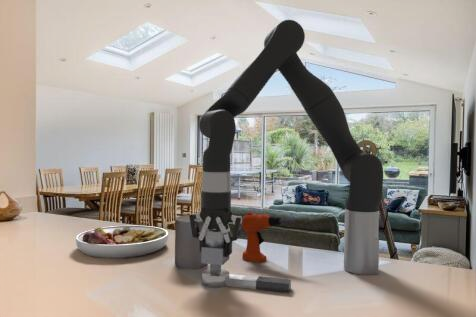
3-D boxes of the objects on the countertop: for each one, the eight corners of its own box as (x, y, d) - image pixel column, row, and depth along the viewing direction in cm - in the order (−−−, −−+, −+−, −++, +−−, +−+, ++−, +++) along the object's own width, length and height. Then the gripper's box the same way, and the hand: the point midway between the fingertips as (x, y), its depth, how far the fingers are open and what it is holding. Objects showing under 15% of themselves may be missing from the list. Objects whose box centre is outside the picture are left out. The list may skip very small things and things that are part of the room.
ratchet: (291, 285, 98) (292, 262, 98) (287, 295, 91) (287, 270, 91) (207, 276, 104) (207, 254, 104) (197, 285, 97) (197, 261, 97)
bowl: (120, 235, 153) (120, 215, 153) (185, 244, 140) (185, 222, 140) (55, 253, 126) (55, 229, 126) (127, 266, 113) (127, 239, 113)
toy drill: (297, 264, 111) (291, 211, 112) (239, 262, 120) (234, 213, 121) (303, 260, 115) (297, 209, 116) (247, 258, 125) (242, 211, 125)
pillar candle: (174, 259, 119) (174, 211, 119) (205, 258, 121) (206, 210, 121) (175, 270, 110) (175, 217, 109) (210, 268, 112) (210, 216, 111)
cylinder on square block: (229, 258, 102) (229, 228, 101) (222, 265, 96) (223, 232, 96) (209, 257, 103) (209, 226, 103) (201, 263, 98) (201, 231, 98)
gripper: (247, 189, 101) (246, 254, 101) (195, 186, 105) (194, 249, 105) (239, 192, 94) (238, 262, 94) (184, 189, 98) (183, 256, 98)
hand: (215, 255), depth 100 cm, fingers closed on cylinder on square block, 5 cm apart
